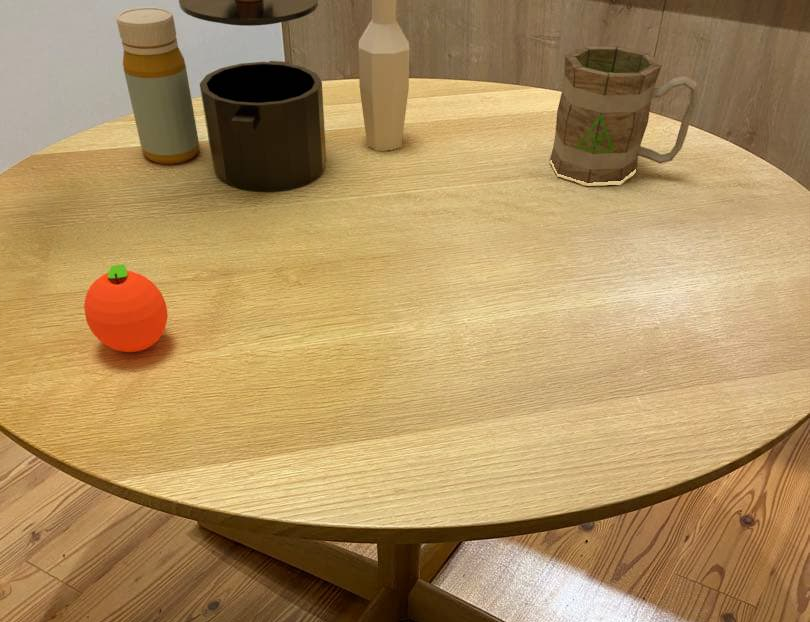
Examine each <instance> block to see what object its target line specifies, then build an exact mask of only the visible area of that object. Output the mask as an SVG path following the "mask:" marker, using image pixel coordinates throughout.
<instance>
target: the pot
mask: <svg viewBox="0 0 810 622" xmlns="http://www.w3.org/2000/svg"><path fill="white" fill-rule="evenodd" d="M199 88H200V96H201V101H202V107H203V114H204V121H205V125H206V132H207V137H208V144H209V151H210V156H211V163H212V166H213V172H214V174H215V176H216V178H217V179H218V180H219V181H220V182H221V183H224V184H225V185H227V186H229V187H232V188H235V189H238V190H242V191H249V192H257V193H258V192H259V193H260V192H261V193H273V192H274V193H275V192H276V193H277V192H283V191H291V190H295V189H298V188H301V187H304V186H307V185H309V184H311V183H313V182H315V181H317V180H318V179H319V178H321V176H322V175H323V174H324V173H325V171H326V166H327V165H326V163H327V148H326V131H325V114H324V113H325V112H324V96H323V95H324V94H323V81H322V80H321V78H320V76H319V75H318V73H316V72H315V71H313V70H310V69H309V68H307V67H304V66H302V65H296V64H292V63H290V62H289V61H279V60H269V61H255V62H254V61H253V62H243V63H238V64H233V65H229V66H225V67H224V66H223V67H221V68H218V69H216V70H214V71H212V72H209V73H208V74H206V75H205V76H204V78H203V79H202V80H201V81H200V83H199Z"/></svg>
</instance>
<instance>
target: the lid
mask: <svg viewBox="0 0 810 622" xmlns="http://www.w3.org/2000/svg"><path fill="white" fill-rule="evenodd" d="M178 4H179V8H180V10H181V11H182V12H183V13H185V14H186V15H188V16H190V17H192V18H195V19H199V20H202V21H206V22H212V23H217V24H223V25H231V26H242V27H243V26H246V27H247V26H249V27H250V26H267V25H275V24H279V23H283V22H284V23H285V22H289V21H293V20H296V19H300V18H301V19H302V18H304V17H306V16H308V15H310V14H313V12H314V11H316V10H317V8H318V6H319V0H178Z"/></svg>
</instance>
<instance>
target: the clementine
mask: <svg viewBox="0 0 810 622" xmlns="http://www.w3.org/2000/svg"><path fill="white" fill-rule="evenodd" d="M83 310H84V315H85V316H84V317H85V320H86V321H85V322H86V324H87V326H88V328H89V330H90V332H91V333H92V334H93V335H94V336H95V338H97V339H98V341H99V342H100V343H102V344H104V345H105V346H107V347H108V348H110V349H112V350H115V351H118V352H124V353H136V352H142V351H144V350H146V349H149V347H151V346H153V345H155V344H156V343H157V342H158V341H159V340H160V338H161V336H162V335H163V334H164V332H165V331H166V326H167V321H168V315H169V314H168V307H167V304H166V300H165V298H164V296H163V293H162V292H161V290H160V289H159V288H158V287H157V285H156V284H155V283H154V282H153V281H152V280H151V279H148V278H147V277H146V276H145V275H143V274H142V273H138V272H134V271H132V270H127V267H126V265H125V264H113V265H112V266H110V267H109V269H108V272H106V273H104V274H102V275H101V276H99V277H98V278H97V279H96V280H94V281H93V282H92V283H91V284H90V286H89V288H88V290H87V292H86V294H85V298H84V303H83Z"/></svg>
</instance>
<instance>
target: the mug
mask: <svg viewBox="0 0 810 622" xmlns="http://www.w3.org/2000/svg"><path fill="white" fill-rule="evenodd" d="M661 68H662V65H661V64H660V63H659V62H658V61H657V60H656V59H655V57H653V56H652V54H650V53H649V52H644V51H640V50H635V49H632V48H627V47H624V46H621V45H598V46H597V45H596V46H594V45H593V46H591V45H590V46H582V47H579V48H577V49H576V50H574V51H572V52H570V53H567V54H566V55H565V57H564V75H563V76H564V77H563V81H562V82H563V83H562V89H561V94H560V99H559V103H558V106H557V111H556V122H555V133H554V141H553V147H552V150H551V154H550V157H549V160H550V159H551V160H552V163H553V164H554V167H555V169H556V171H557V173H558V174H561V175H564V176H567V177H571V178H573V179H576V180H580V181H584V182H586V183H593V182H608V181H621V180H623V179H624V178H625V177H626V176H628V175H629V174H630V173H631V172H633V171H634V170H635V169H636V170H637V169H638V160H639V157H642V158H645V159H647V160H650V161H653V162H654V163H657V164H665V163H669V162H672V161H673V160H674V158H675V157H676V156H677V155H678V154H679V153H680V151H681V150H682V148H683V145H684V143H685V140H686V137H687V134H688V131H689V127H690V124H691V120H692V117H693V115H694V112H695V109H696V107H697V104H698V102H699V95H698V93H699V92H698V83H697V82H696V81H694V80H693V79H691V78H690V77H689V76H687V75H681V76H678V77H673V78H672V79H670V80H669V81H667V82H666V83H665V84H664V85H662V86H661V87H655V85H656V83H657V81H658V77H659V75H660V72H661V70H662V69H661ZM680 86H684V87H686V88H688V89H690V95H689V96H690V97H689V103H688V104H687V108H686V110H685V112H684V115H683V117H682V119H681V123H680V126H679V129H678V133H677V136H676V140H675V145H674V146H673V147H672V149H671V150H670V151H669V152H666V153H662V154H661V153H659V152H657V151H655V150H653V149H651V148H647V147H644V146H642V142H643V139H644V135H645V132H646V130H647V127H648V123H649V118H650V110H651V103H652V100H653V99H660V98H662V97H664V96H666V95H668V93H669V92H671V91H672V90H673V89H675V88H677V87H680Z"/></svg>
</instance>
